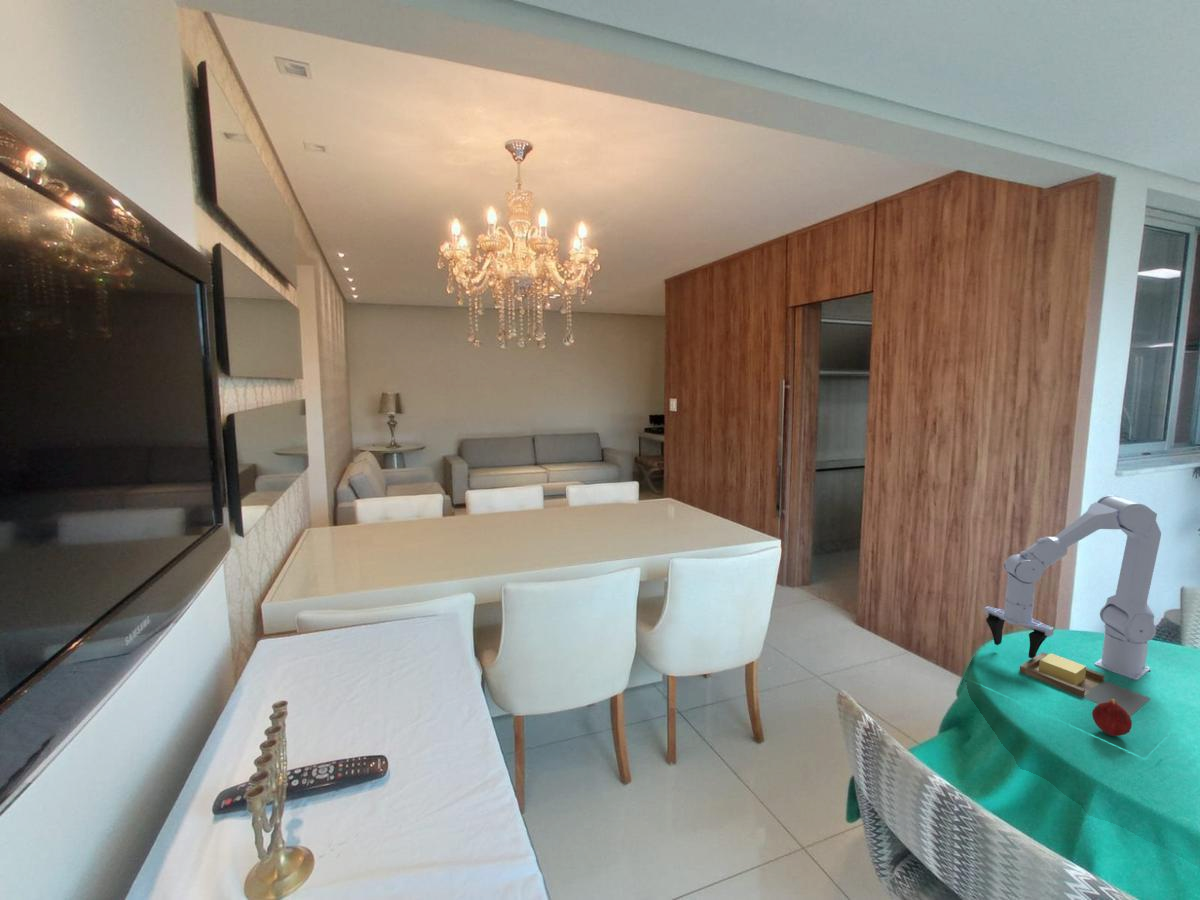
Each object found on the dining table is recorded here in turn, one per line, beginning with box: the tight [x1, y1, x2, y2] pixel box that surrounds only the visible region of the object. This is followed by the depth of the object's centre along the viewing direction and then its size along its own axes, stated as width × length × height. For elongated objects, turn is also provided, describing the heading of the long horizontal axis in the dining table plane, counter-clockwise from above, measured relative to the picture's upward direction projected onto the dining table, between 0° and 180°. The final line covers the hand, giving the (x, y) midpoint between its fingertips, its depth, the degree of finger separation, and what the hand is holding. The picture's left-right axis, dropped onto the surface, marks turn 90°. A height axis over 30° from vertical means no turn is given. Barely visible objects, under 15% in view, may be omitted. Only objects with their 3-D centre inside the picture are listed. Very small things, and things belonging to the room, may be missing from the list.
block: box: [1039, 652, 1087, 686], centre depth 127 cm, size 6×7×4 cm
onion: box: [1091, 698, 1133, 737], centre depth 107 cm, size 6×6×8 cm
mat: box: [1082, 680, 1151, 718], centre depth 119 cm, size 12×8×1 cm, turn 119°
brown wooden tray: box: [1019, 651, 1105, 698], centre depth 128 cm, size 12×12×2 cm
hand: (1014, 650), depth 136 cm, fingers open, 7 cm apart
